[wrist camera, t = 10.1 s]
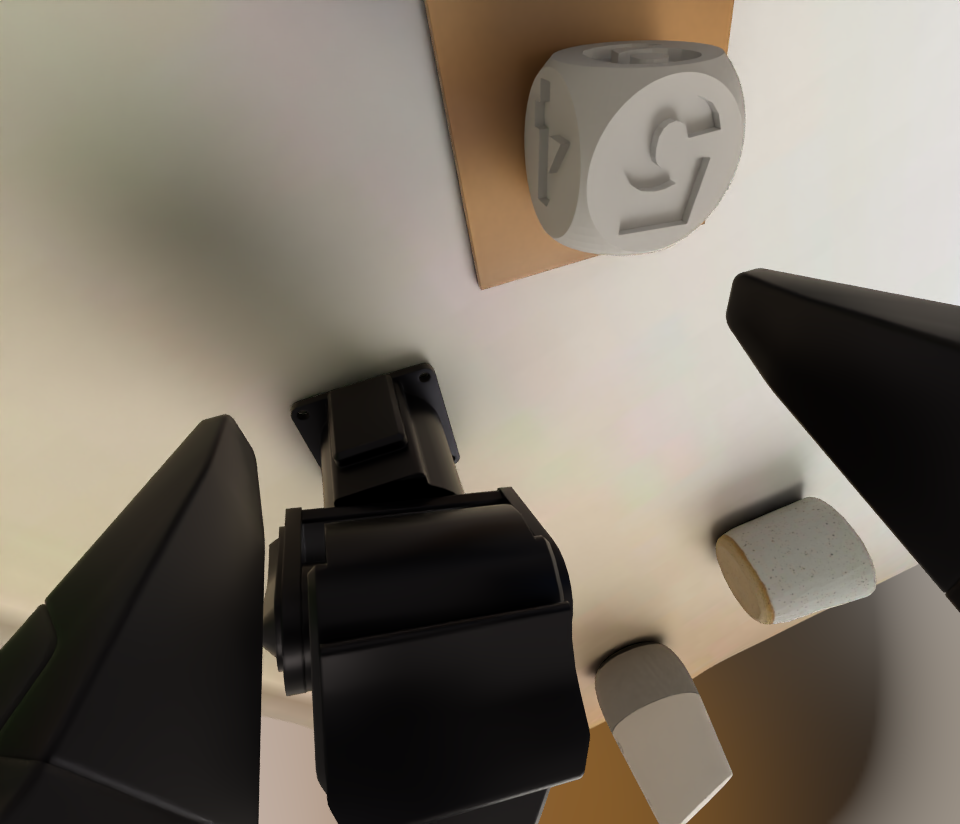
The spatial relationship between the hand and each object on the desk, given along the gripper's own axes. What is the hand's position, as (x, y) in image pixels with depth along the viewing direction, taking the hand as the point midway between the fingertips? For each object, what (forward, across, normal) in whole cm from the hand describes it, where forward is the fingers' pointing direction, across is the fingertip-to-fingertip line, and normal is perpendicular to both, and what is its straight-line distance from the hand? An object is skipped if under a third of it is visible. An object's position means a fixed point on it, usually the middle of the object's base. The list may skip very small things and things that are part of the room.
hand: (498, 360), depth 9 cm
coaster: (+12, -7, 0) cm, 14 cm away
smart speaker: (+12, -12, +51) cm, 54 cm away
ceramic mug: (+12, -22, +34) cm, 42 cm away
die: (+12, -7, 0) cm, 14 cm away
